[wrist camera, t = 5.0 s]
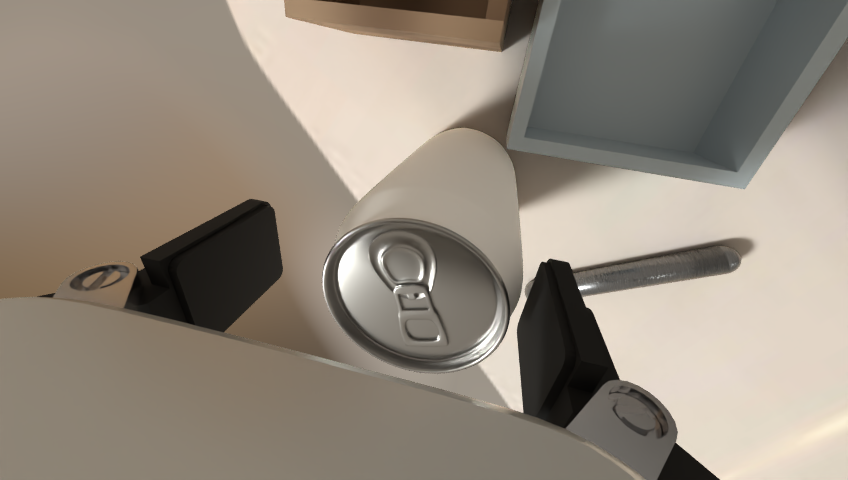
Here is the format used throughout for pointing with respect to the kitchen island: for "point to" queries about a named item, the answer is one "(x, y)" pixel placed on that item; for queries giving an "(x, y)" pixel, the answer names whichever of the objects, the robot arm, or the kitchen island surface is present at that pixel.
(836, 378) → the kitchen island surface
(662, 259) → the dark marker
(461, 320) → the can
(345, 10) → the walnut box
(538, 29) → the light blue tray
